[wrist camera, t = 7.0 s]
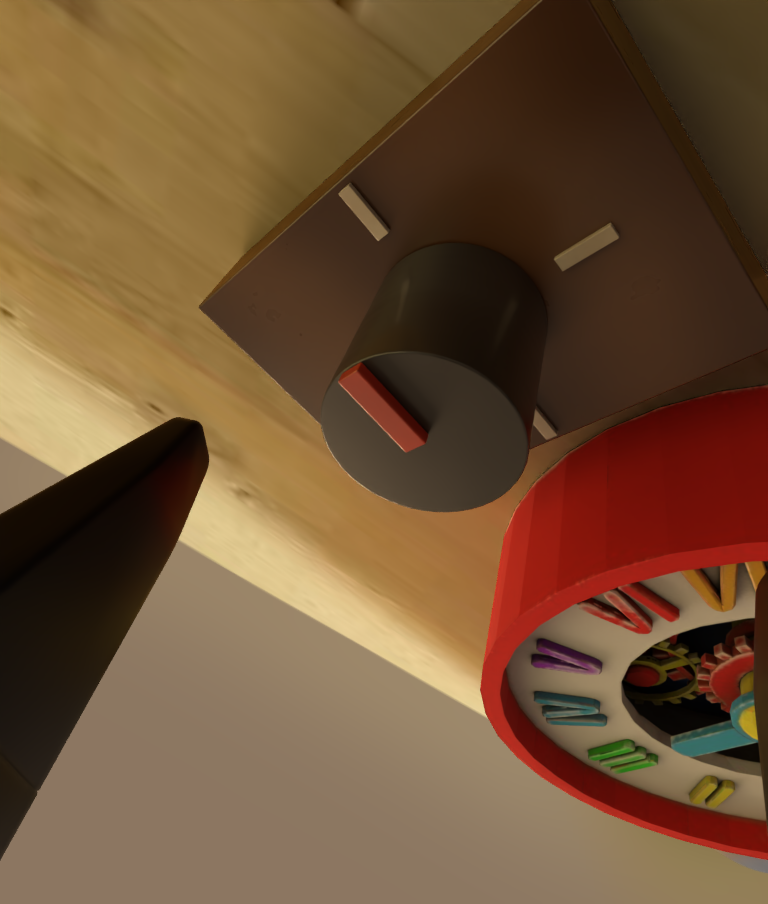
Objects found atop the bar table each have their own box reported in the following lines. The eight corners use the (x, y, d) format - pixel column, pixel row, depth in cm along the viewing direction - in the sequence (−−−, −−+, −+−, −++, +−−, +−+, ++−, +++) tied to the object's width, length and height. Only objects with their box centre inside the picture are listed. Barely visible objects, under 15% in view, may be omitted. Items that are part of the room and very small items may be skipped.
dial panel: (580, -54, 13) (571, -29, 11) (767, 277, 17) (789, 345, 15) (240, 258, 21) (194, 310, 19) (420, 444, 24) (400, 507, 22)
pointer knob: (582, 347, 16) (570, 484, 13) (444, 415, 19) (405, 543, 16) (477, 205, 15) (433, 320, 11) (341, 301, 17) (273, 418, 14)
